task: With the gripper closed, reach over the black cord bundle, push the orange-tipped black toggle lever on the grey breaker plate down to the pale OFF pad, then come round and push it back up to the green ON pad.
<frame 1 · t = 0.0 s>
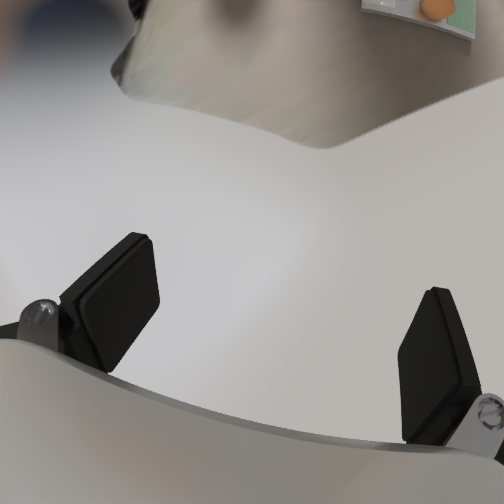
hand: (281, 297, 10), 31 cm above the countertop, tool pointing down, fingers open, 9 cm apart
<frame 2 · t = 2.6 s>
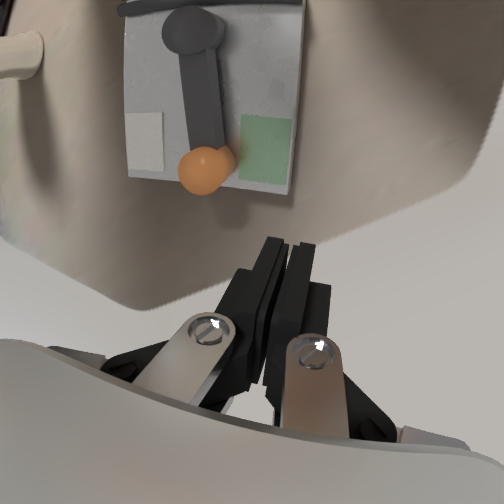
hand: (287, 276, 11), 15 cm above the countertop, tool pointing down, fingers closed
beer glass: (29, 54, 24), on the countertop
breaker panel: (210, 83, 22), on the countertop
breaker lever: (198, 97, 19), point 4 cm above the countertop, hinge at 8.0°
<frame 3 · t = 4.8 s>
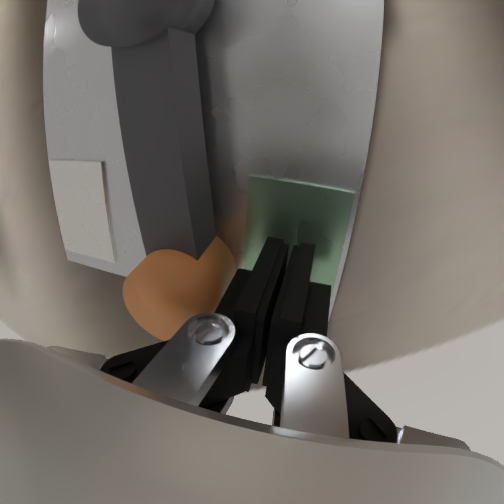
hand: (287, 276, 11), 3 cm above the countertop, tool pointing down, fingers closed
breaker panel: (190, 103, 12), on the countertop
breaker lever: (154, 142, 9), point 4 cm above the countertop, hinge at 8.0°, touching gripper
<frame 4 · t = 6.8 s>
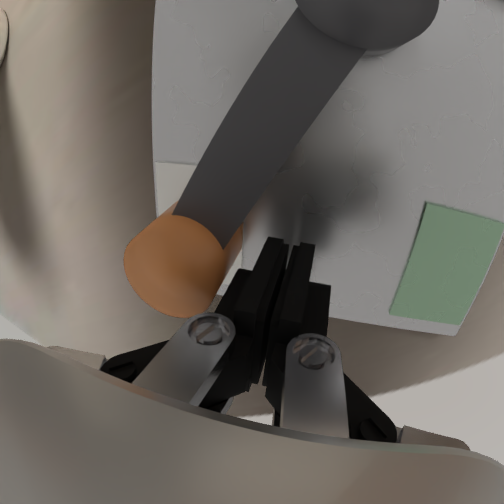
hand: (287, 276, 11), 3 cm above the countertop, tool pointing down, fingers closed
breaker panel: (346, 115, 11), on the countertop
breaker lever: (263, 128, 8), point 4 cm above the countertop, hinge at -28.3°, touching gripper
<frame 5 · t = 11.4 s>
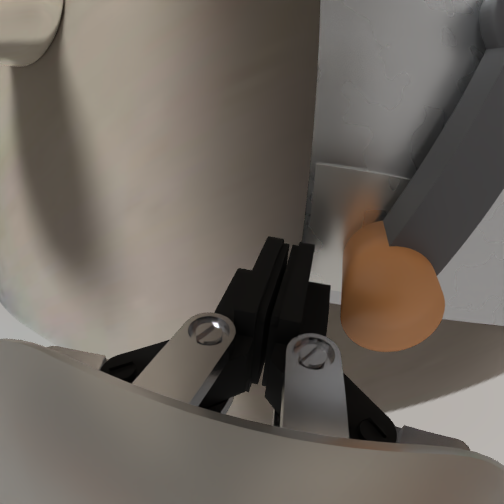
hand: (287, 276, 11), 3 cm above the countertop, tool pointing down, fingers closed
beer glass: (34, 19, 11), on the countertop
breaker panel: (483, 132, 9), on the countertop
breaker lever: (483, 157, 7), point 4 cm above the countertop, hinge at -22.4°, touching gripper
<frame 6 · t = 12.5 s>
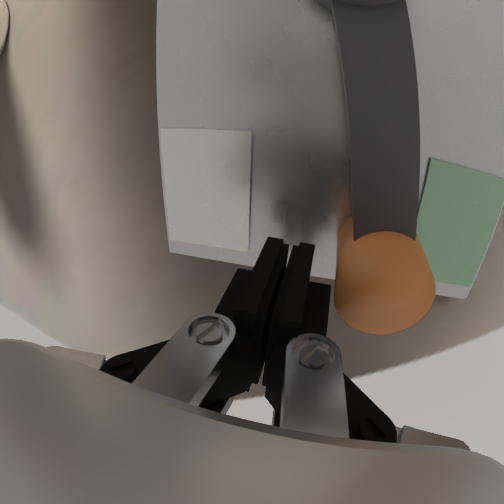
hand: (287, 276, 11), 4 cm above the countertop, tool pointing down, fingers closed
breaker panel: (346, 78, 11), on the countertop
breaker lever: (383, 113, 8), point 4 cm above the countertop, hinge at 10.8°, touching gripper
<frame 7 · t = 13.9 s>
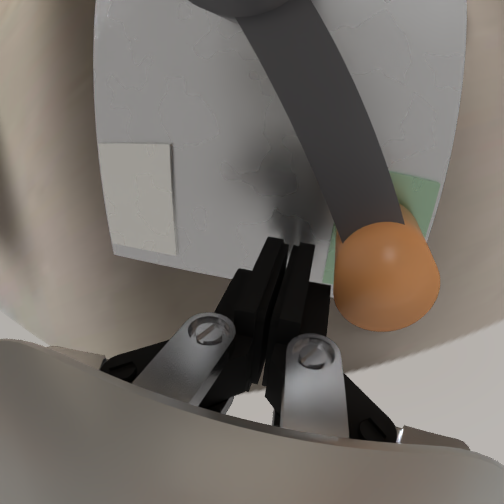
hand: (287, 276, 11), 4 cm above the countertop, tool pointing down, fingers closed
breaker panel: (267, 87, 11), on the countertop
breaker lever: (325, 108, 8), point 4 cm above the countertop, hinge at 29.5°, touching gripper
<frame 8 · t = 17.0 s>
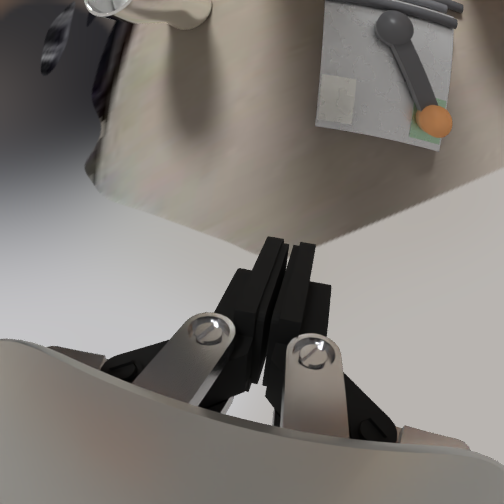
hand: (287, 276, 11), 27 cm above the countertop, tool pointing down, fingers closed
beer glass: (189, 8, 29), on the countertop
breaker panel: (385, 67, 28), on the countertop
breaker lever: (415, 72, 24), point 4 cm above the countertop, hinge at 30.4°
cord bundle: (389, 3, 23), on the countertop
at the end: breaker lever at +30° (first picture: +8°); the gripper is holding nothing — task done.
